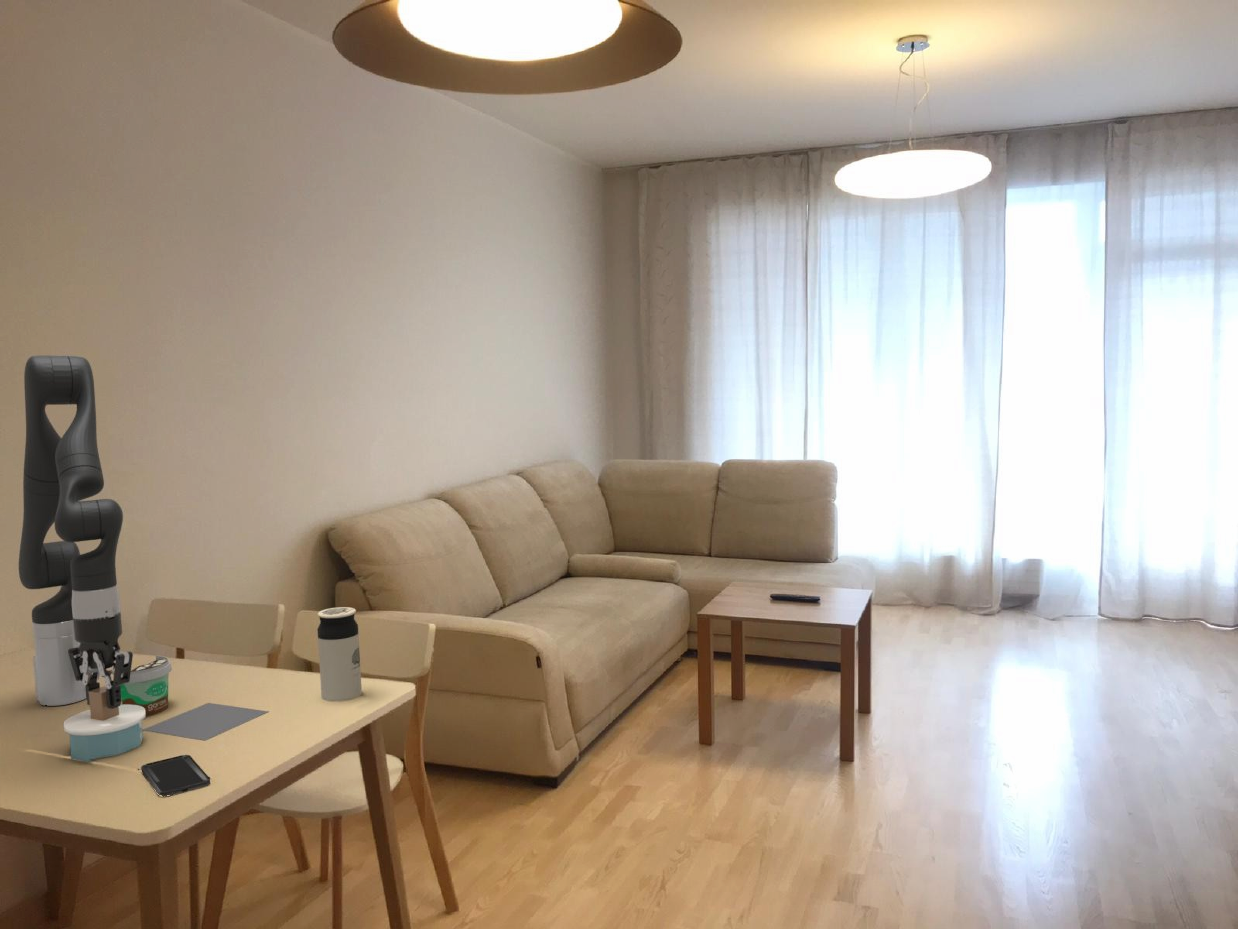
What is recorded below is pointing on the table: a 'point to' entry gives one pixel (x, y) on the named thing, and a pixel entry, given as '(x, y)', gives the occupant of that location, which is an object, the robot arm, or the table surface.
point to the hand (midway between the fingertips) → (104, 705)
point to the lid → (103, 716)
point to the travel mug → (339, 654)
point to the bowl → (105, 743)
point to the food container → (148, 686)
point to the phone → (175, 775)
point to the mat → (205, 721)
